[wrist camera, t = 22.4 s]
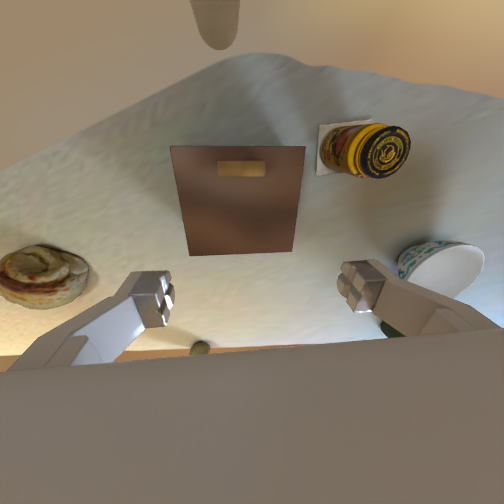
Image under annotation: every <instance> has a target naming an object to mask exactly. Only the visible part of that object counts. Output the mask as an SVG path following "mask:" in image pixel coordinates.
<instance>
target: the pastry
mask: <svg viewBox="0 0 504 504" xmlns="http://www.w3.org/2000/svg"><path fill="white" fill-rule="evenodd" d="M88 267H89V266H87V265H86V262H85V261H84V260H83V259H81V258H79V257H77V256H74V255H73V254H69V253H67V252H65V253H64V252H61V251H58V250H54V249H49V248H45V247H40V246H30V247H25V248H23V249H20V250H18V251H16V252H13V253H9V254H7V255H5V256H4V257H3V258H2V259H1V260H0V295H1V296H3V297H4V298H5V299H6V300H7V301H9V302H12V303H14V304H15V303H17V304H20V305H22V306H23V307H26V308H29V309H37V310H45V309H50V308H55V307H59V306H62V305H65V304H67V303H69V302H72V301H73V300H74V299H75V298H76V297H77V296H78V295H80V294H81V292H82V291H83V289H84V288H85V287H86V278H87V275H88Z"/></svg>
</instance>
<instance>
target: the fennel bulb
mask: <svg viewBox="0 0 504 504" xmlns="http://www.w3.org/2000/svg"><path fill="white" fill-rule="evenodd" d="M201 354H210V346H209V345H208V344H207V343H204V342H201V343H196V344H194V345H193V346H192V348H191V350H190V355H201ZM190 355H189V356H190Z"/></svg>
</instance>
